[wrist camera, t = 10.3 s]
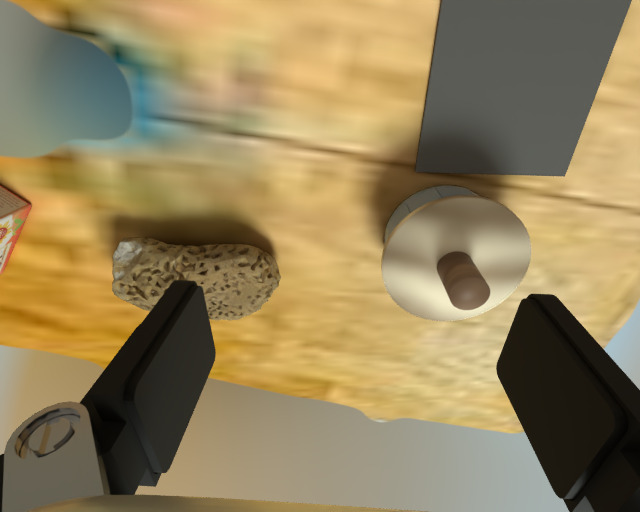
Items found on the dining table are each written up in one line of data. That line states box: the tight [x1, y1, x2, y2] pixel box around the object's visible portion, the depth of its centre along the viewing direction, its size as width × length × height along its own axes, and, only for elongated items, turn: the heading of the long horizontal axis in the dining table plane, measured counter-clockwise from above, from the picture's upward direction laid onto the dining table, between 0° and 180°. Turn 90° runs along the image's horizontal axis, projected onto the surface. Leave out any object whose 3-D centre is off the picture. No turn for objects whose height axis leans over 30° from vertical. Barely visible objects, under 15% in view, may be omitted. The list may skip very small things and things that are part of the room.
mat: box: [415, 0, 632, 176], centre depth 34 cm, size 16×16×1 cm
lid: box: [381, 195, 531, 321], centre depth 34 cm, size 15×15×6 cm
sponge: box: [112, 237, 281, 320], centre depth 43 cm, size 13×8×20 cm
